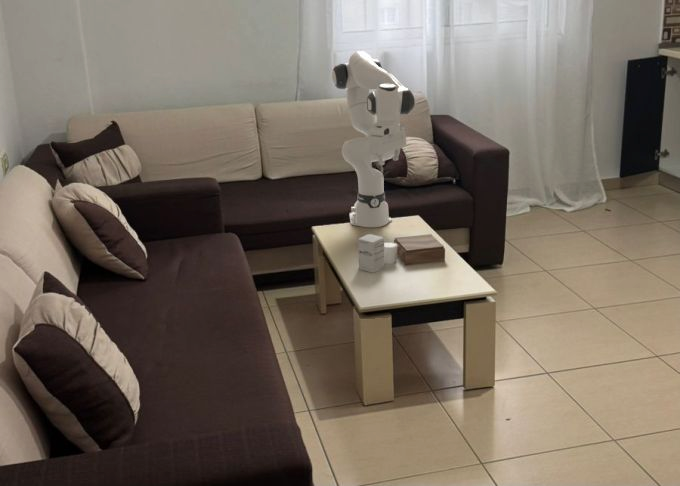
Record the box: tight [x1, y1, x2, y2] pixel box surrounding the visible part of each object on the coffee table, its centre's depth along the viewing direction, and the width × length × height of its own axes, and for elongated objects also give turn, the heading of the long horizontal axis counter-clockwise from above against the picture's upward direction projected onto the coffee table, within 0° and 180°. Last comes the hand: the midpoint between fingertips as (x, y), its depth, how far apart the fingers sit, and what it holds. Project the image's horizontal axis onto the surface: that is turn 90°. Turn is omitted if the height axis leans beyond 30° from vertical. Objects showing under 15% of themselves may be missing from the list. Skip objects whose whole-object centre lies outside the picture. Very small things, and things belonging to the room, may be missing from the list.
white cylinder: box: [384, 241, 398, 265], centre depth 336 cm, size 7×7×7 cm
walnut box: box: [393, 233, 446, 266], centre depth 341 cm, size 16×16×6 cm
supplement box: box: [358, 233, 385, 274], centre depth 329 cm, size 7×7×13 cm
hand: (388, 162), depth 335 cm, fingers open, 8 cm apart
